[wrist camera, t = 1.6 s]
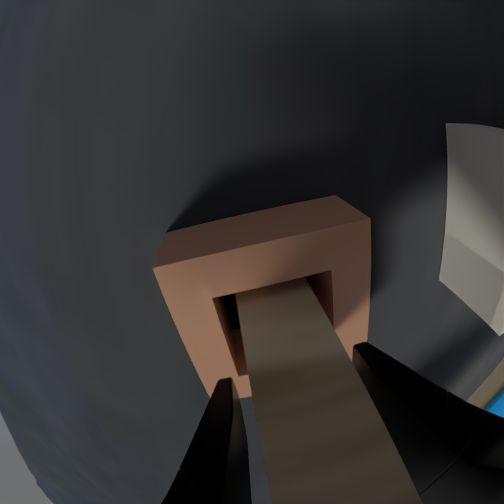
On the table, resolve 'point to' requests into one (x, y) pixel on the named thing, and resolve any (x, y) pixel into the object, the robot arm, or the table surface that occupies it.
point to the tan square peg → (314, 406)
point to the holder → (264, 276)
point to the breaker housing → (475, 220)
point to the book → (491, 392)
